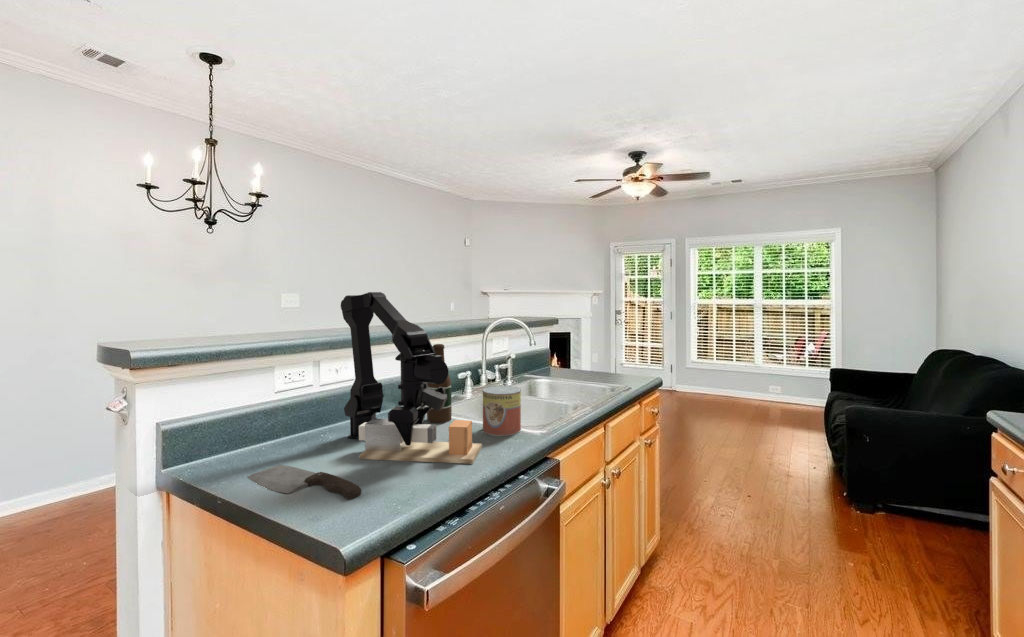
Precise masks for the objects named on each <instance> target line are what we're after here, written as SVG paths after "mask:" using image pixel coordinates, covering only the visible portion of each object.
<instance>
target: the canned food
mask: <svg viewBox="0 0 1024 637" xmlns="http://www.w3.org/2000/svg"><path fill="white" fill-rule="evenodd" d="M521 402H522V389H521V388H520V387H516V386H513V385H510V386H509V385H495V386H488V387H484V388H483V389H482V432H483V433H484V434H486V435H489V436H496V437H506V436H515V435H517V434H519V433H520V432H519V431H520V430H521V431H522V426H521V425H522V424H521V423H522V418H521V417H522V410H521V409H522V408H521V407H522V406H521V405H522V403H521ZM518 432H519V433H518Z"/></svg>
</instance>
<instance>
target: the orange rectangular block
mask: <svg viewBox="0 0 1024 637" xmlns="http://www.w3.org/2000/svg"><path fill="white" fill-rule="evenodd" d="M448 442H449V454H457V455H467V454H468V453H469V451H470V450H471V448H472V443H473V420H463V419H462V420H459V419H454V420H453V421H452V422H451V423H450V424H449V426H448Z"/></svg>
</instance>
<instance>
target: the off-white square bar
mask: <svg viewBox="0 0 1024 637" xmlns="http://www.w3.org/2000/svg"><path fill="white" fill-rule="evenodd" d="M366 423H367V422H364V423H363V424H361V425H360V426H359V439H358V441H365V424H366ZM400 437H401V442H404V440H403V438H402V436H401V434H400ZM436 440H437V423H431V424H428V423H426V424H425V423H423V424H414V426H413V433H412V441H411V442H418V443H433V442H436Z"/></svg>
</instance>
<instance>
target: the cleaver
mask: <svg viewBox="0 0 1024 637" xmlns="http://www.w3.org/2000/svg"><path fill="white" fill-rule="evenodd" d="M246 478H247V479H249V480H250V481H251V482H253V483H254V482H255V483H254V484H256V483H257V484H256V485H258V486H259V485H260V487H261V486H263V487H265V488H267V489H266V490H268V489H269V491H273V492H277V493H284V494H292V493H296V492H299V491H300V490H303V489H306V488H307V487H313V486H323V487H324V489H326V490H327V491H329V492H330V493H335V494H339V495H341V496H343V497H344V498H345V499H347V500H352V499H355V498H357V497H359V496H361V495H362V488H361V486H359V485H358V484H356V483H354V482H353V481H350V480H348V479H345V478H342V477H340V476H337V475H334V474H331V473H328V472H323V471H318V472H315V471H311V470H306V469H303V468H299V467H294V466H290V465H284V464H279V465H278V464H277V465H275V466H272V467H269V468H267V469H263V470H261V471H257V472H254V473H252V474H250V475H248V476H246ZM263 487H262V488H263ZM265 488H264V489H265Z"/></svg>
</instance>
